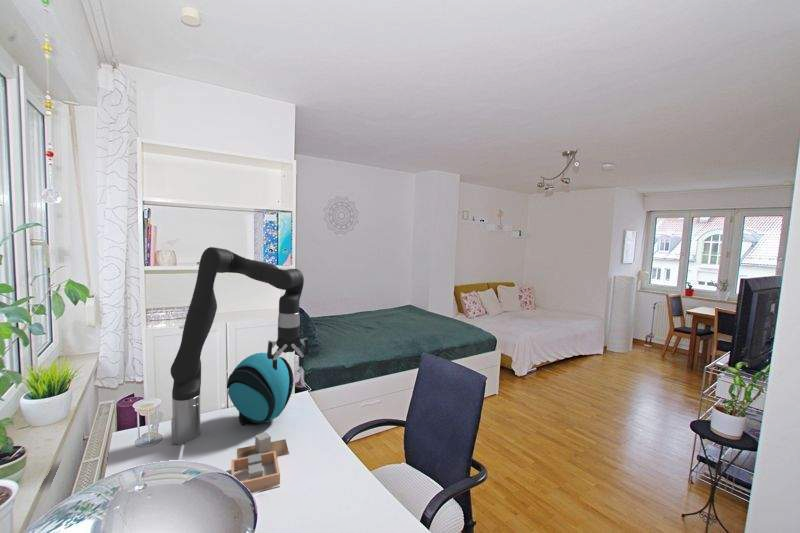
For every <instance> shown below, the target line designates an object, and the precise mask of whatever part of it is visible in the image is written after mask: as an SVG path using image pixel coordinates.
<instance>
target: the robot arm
mask: <svg viewBox="0 0 800 533" xmlns="http://www.w3.org/2000/svg"><path fill="white" fill-rule="evenodd" d="M218 273H220V274H224V273H229V274H231V273H232V274H240V275H244V276H245V277H247V278H250V279H252V280H254V281H257V282H261V283H266V284H268V285H270V286H272V287H273V288H276V289H279V290H283V291H285V292H284V293H283V295H281V296H280V297H279V301H278V316H277V339H276V341H272V340H267V341H268V342H267V352H266V353H267V357H268V359H272V360H273V365H272V366H273V369H275V370H277V358H278V357H280V356H281V355H282V353H285V354H287V353H293V352H295V353H297V355H298V367H299V368H302V366H303V365H304V357H305V356H308V355H309V354H310V351H309V340H308V338H307V337H304V338H300V330H301V329H300V325H301V318H300V317H301V316H300V300H301V297H302V292H303V289H304V283H305V279H304V274H303V272H302V271H301V270H300V269H298V268H288V269H282V268H279V267H278V266H277V265H275V264H272V263H267V262H264V261H260V260H254V259H250V258H246V257H244V256H241V255H239V254H237V253H235V252H233V251H231V250H229V249H226V248H220V247H215V246H214V247H213V246H209V247H208V248H205V249H204V251H203V252H202V254H201V256H200V261H199V265H198V271H197V276H196V282H195V286H194V289H193V294H192V297H191V300H190V304H189V306H188V310H187V314H186V317H185V319H184V320H185V321H184V324H183V328H182V329H183V331H182V335H181V342H180V346H179V348H178V351H177V353H176V354H175V355H176V356H175V358H174V360H173V362H172V364H171V367H170V376H171V378H172V379H173V383H172V391H171V402H172V403H171V404H172V405H171V407H172V408H171V410H172V411H171V415H172V417H171V445H186V442H190V441H193V440H195V439H196V438H198V437H199V436H201V386H202V360H201V354H202V352H203V347H204V345H205V342H206V340H207V337H208V336H209V333H210V331H211V329H212V327H213V323H214V321H215V317H216V313H217V311H218V310H217V309H218V304H217V303H218V302H217V298H216V294H215V290H214V286H215V280H216V277H217V275H218ZM300 344H302V345H303V350H301V349H300V348H299V346H300ZM275 346H277V349H276V350H275V352H274V353H272V352H273V348H275ZM272 354H273V355H272Z"/></svg>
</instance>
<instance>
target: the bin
mask: <svg viewBox="0 0 800 533" xmlns="http://www.w3.org/2000/svg"><path fill="white" fill-rule="evenodd" d="M261 459H262V465H264V464H269V463H273V469H274V473H271V474H267V475H263V477H258V478H254V479H250V480H248V479H246V480H243V481H242V480H241V481H240V482H242V483H243V484H244V485H245V486H246V487H247V488H248V489H249V490H250V491H249V492H252V491H257V490H260V491H259V492H257V493H262V492H267V491H271V490H275V489H278V488H280V487H281V486H280V483H281V472H280V467H279V463H278V462H279V461H278V457H277V456H276V451H272V452H267V453H263V454H261ZM230 462H231V468H230V470H231V472H230V473H231V474H230V475H233V476H234V477H235V471H238V470H241V469H245V468H247V469H248V457H243V458H239V459H238V458H235V459H234V458H233V459H231V461H230ZM272 486H273V487H272ZM274 486H275V487H274ZM268 487H269V488H268ZM270 487H271V488H270ZM265 488H267V489H265ZM261 489H263V490H261Z"/></svg>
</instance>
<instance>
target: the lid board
mask: <svg viewBox="0 0 800 533" xmlns="http://www.w3.org/2000/svg"><path fill="white" fill-rule="evenodd" d="M236 450H237V451H236V452H237V459H239V458H243V457H248V456H250V455H255V454H259V452H258V451H257V450H256V449H255V444H254V445H249V446H248V445H247V446H245V447H238V448H236ZM272 451H276V456H277V458H278V457H283V456H287V455H290V451H289V448H288V443H287V440H286V438H284V439H279V440H273V441H271V448H270V450H268V451H265V452H263V453H267V452H272ZM263 453H261V454H263Z"/></svg>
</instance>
